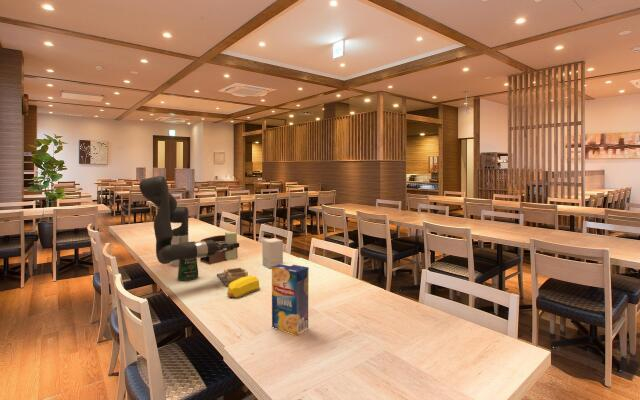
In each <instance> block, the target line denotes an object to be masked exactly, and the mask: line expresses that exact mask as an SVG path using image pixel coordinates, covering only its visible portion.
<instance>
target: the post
mask: <svg viewBox="0 0 640 400" xmlns="http://www.w3.org/2000/svg"><path fill="white" fill-rule="evenodd" d="M224 233H225V234H224V235H225V243H227V244H233V243H238V238H237V235H238V233H237V232H236V231H226V232H224ZM225 246H226V245H225ZM225 255H226V259H227V261H231V260H233V261H234V260H238V258H237V255H238V248H233V250H230V251H226V252H225Z"/></svg>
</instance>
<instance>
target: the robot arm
mask: <svg viewBox="0 0 640 400" xmlns="http://www.w3.org/2000/svg"><path fill="white" fill-rule="evenodd" d="M139 190H140V193H141V194H142V196H143V197H144V198H145V199H146V200H147V201H149V202H151V203H152V204H153V205H155V206H156V208H157V209H158V211H157V212H156V215H155V216H154V220H153V230H154V235H155V254H156V259H157V261H158V262H159V263H160V264H162V265H167V264H171V266H172V267H179V259H193V258H197V259H199V258H202V257H208V256H213V255H215V253H216V251H218V252H220V251H223V252H226V251H230V250H233V248H237V249H238V248H239V247H240V243H239V242H237V243H233V244H227V243H225V241H216V242H214V241H213V240H206V241H201V240H199V241H195V243H189V244H179V243H183V242H190V241H189V215H190V214H189V213H190V212H189V208H188V207H187V206H178V202H177V201H178V200H176V198H175V197H174V195H172V194H171V193H170V190H169V185H168V182H167V180H166V177H165V176H163V175H158V176H153V177H147V178H144V179H141V180H140V181H139ZM172 224H181V225H180V226H178V227H175V228H172ZM225 245H226V246H225Z"/></svg>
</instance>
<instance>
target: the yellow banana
mask: <svg viewBox="0 0 640 400" xmlns="http://www.w3.org/2000/svg"><path fill="white" fill-rule="evenodd" d="M259 289H260V280H259V278H258V277H257V276H253V275H251V274H250V275H248V276H246V277H242V278H239V279H237V280H235V281H233V282H231V283H230V284H229V286H227V296H228V297H230V298H233V297H234V298H236V299H238V298H240V297H243V296H245V295H247V294H248V293H252V292H255V291H258V290H259Z"/></svg>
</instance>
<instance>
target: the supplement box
mask: <svg viewBox="0 0 640 400" xmlns="http://www.w3.org/2000/svg"><path fill="white" fill-rule="evenodd" d="M261 243H262V248H261V249H262V266H263V267H265V268H267V269H272V267H273V266H276V265H279V264H282V263H284V241H283V240H282V239H279V238H277V237H274V238H266V239H265V238H264V239H262V241H261Z"/></svg>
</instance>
